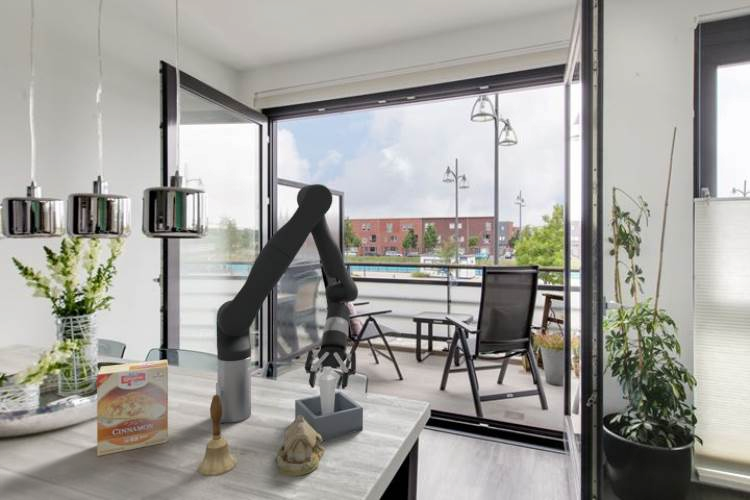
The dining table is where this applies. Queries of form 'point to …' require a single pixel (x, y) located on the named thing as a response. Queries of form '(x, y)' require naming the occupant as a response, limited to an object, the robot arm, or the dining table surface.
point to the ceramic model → (300, 449)
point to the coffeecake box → (132, 406)
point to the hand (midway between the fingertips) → (327, 387)
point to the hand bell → (216, 446)
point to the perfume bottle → (327, 391)
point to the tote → (331, 415)
